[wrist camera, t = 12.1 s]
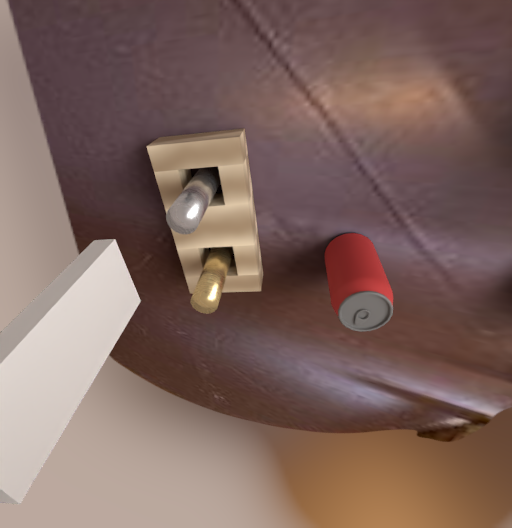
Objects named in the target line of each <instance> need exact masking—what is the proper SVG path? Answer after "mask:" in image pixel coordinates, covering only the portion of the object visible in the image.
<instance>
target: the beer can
mask: <svg viewBox="0 0 512 528" xmlns="http://www.w3.org/2000/svg"><path fill="white" fill-rule="evenodd" d="M324 255H325V264H326V271H327V277H328V284H329V291H330V297H331V304H332V307H333V309H334V310H335V312H336V314H337V316H338V318H339V319H340V321H341V323H342V324H343V325H344V326H346V327H347V328H349V329H352V330H355V331H371V330H375V329H378V328H380V327H381V326H383V325H385V324H386V323H387V322H388V321H389V320H390V318H391V316H392V314H393V306H392V305H393V292H392V290H391V287H390V285H389V282H388V280H387V277H386V275H385V272H384V270H383V267H382V265H381V262H380V260H379V258H378V255H377V253H376V250H375V248H374V245H373V243H372V242H371V241H370V240H369V239H368V238H367V237H365V236H363V235H361V234H356V233H348V234H343V235H340V236H338V237H336V238H335V239H334V240H332V241H331V242H330V243H329V245H328V246H327V248H326V251H325V254H324Z"/></svg>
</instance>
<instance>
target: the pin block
mask: <svg viewBox="0 0 512 528" xmlns="http://www.w3.org/2000/svg"><path fill="white" fill-rule="evenodd" d="M146 147H147V150H148V153H149V157H150V160H151V163H152V167H153V170H154V173H155V177H156V180H157V184H158V187H159V190H160V194H161V197H162V200H163V204H164V207H165V210H166V214H167V211H168V210H169V208H170V207H171V206H172V204H173V203H174V202H175V200H176V199H177V198H178V196H179V195H180V194H181V192H182V191H183V190H184V188H185V187H186V186H187V184H188V183H189V182H190V180H191V179H192V175H191V171H190V169H194V168H205V167H216V166H218V169H219V174H220V180H221V185H222V191H223V193H215V195H214V197H213V198H212V200H211V202H210V204H209V206H208V208H207V210H206V212H205V214H204V216H203V218H202V219H201V221H200V223H199V225H198V227H197V229H196V230H195V231H194V232H193V233H190V234H179V233H177V232H175V231H174V230H172V229H171V231H172V234H173V237H174V241H175V244H176V247H177V251H178V254H179V258H180V261H181V264H182V268H183V271H184V274H185V278H186V281H187V284H188V288H189V291H190V293H194V290H195V288H196V285H197V283H198V280H199V278H200V275H201V273H202V270H203V268H204V265H205V263H206V260H207V258H208V255H209V253H210V252H209V248H211V247H230V246H233V251H234V256H235V259H231V262H230V266H229V269H228V273H227V276H226V280H225V283H224V287H223V290H222V292H248V291H261V286H262V278H263V269H262V261H261V254H260V246H259V238H258V230H257V222H256V215H255V207H254V199H253V191H252V183H251V176H250V168H249V160H248V152H247V144H246V137H245V129H244V128H243V129H234V130H224V131H215V132H206V133H196V134H187V135H177V136H168V137H159V138H158V139H156V140H155V141H153V142H152V143H151V144H149V145H148V146H146Z"/></svg>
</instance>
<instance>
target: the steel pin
mask: <svg viewBox="0 0 512 528" xmlns="http://www.w3.org/2000/svg"><path fill="white" fill-rule="evenodd" d="M220 183H221V180H220V174H219V169H218V167H217V166H216V167H205V168H200V169H199V170H198V171H197V173H196V174H195V175H194V177H193V178H192V179H191V180H190V182H189V183H188V184H187V186H186V187H185V188H184V190H183V191H182V192H181V194H180V195H179V196H178V198H177V199H176V200H175V202H174V203H173V204H172V206H171V207H170V208H169V210H168V211H167V214H166V220H167V223H168V225H169V227H170V228H171V229H172V230H174V231H175V232H177V233H179V234H190V233H193V232H194V231H195V230H196V229H197V227H198V225H199V223H200V221H201V219H202V218H203V216H204V214H205V212H206V210H207V208H208V206H209V204H210V202H211V200H212V198H213V197H214V195H215V193H216V191H217V189H218V187H219V185H220Z"/></svg>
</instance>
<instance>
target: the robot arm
mask: <svg viewBox="0 0 512 528" xmlns="http://www.w3.org/2000/svg"><path fill="white" fill-rule="evenodd" d="M139 303H140V298H139V296H138V293H137V291H136V289H135V286H134V284H133V281H132V279H131V277H130V274H129V272H128V269H127V267H126V265H125V262H124V260H123V257H122V255H121V252H120V250H119V248H118V245H117V243H116V240H115V239H109V240H94V241H93V242H92V243H91V244H90V245H89V246H88V247H87V248H86V249H85V250H84V251H83V252H82V253H81V254H80V255H79V256H78V257H77V258H76V259H75V260H74V261H73V262H72V263H71V264H70V265H69V266H68V267H67V268H66V269H65V270H64V271H63V272H62V273H61V274H59V276H57V277H56V278H55V279H54V280H53V281H52V282H51V283H50V284H49V285H48V286H47V287H46V288H45V289H44V290H43V291H42V292H41V293H40V294H39V295H38V296H37V297H36V298H35V299H34V300H33V301H32V302H31V303H30V304H29V305H28V306H27V307H26V308H25V309H24V310H23V311H22V312H21V313H20V314H19V315H18V316H17V317H16V318H15V319H14V320H13V321H12V322H11V323H10V324H9V325H8V326H7V327H6V328H5V329H3V330H2V331H1V332H0V503H12V504H20V503H21V502H22V500H23V498H24V497H25V495H26V493H27V492H28V490H29V488H30V486H31V485H32V483H33V481H34V480H35V478H36V476H37V475H38V473H39V471H40V470H41V468H42V466H43V465H44V463H45V461H46V459H47V458H48V456H49V455H50V453H51V451H52V450H53V448H54V446H55V444H56V443H57V441H58V439H59V437H60V436H61V434H62V433H63V431H64V429H65V427H66V426H67V424H68V423H69V421H70V419H71V418H72V416H73V414H74V412H75V411H76V409H77V407H78V405H79V404H80V402H81V401H82V399H83V397H84V396H85V394H86V392H87V391H88V389H89V387H90V386H91V384H92V382H93V381H94V379H95V377H96V375H97V374H98V372H99V370H100V369H101V367H102V365H103V364H104V362H105V360H106V359H107V357H108V355H109V354H110V352H111V350H112V349H113V347H114V345H115V344H116V342H117V340H118V338H119V337H120V335H121V333H122V332H123V330H124V328H125V327H126V325H127V323H128V322H129V320H130V318H131V317H132V315H133V313H134V312H135V310H136V308H137V306H138V305H139Z"/></svg>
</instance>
